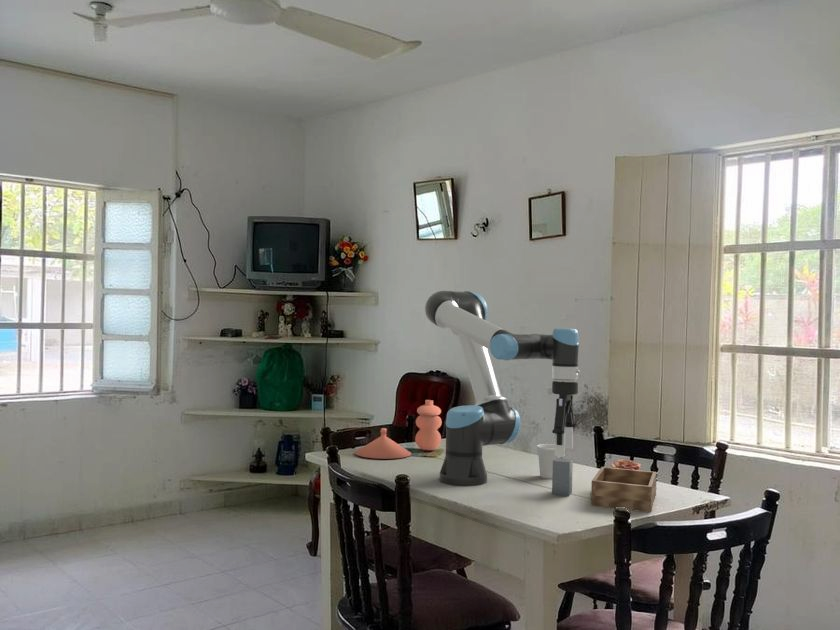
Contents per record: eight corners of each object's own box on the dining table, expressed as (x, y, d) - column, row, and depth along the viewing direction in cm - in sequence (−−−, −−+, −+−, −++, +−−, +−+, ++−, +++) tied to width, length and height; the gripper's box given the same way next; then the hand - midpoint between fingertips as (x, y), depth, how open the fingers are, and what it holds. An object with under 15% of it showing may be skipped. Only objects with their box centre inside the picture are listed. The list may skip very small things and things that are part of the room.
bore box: (591, 505, 208) (591, 480, 207) (601, 489, 227) (601, 466, 227) (651, 512, 202) (651, 487, 202) (656, 495, 221) (656, 472, 221)
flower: (644, 483, 236) (644, 458, 236) (636, 489, 228) (637, 463, 228) (613, 479, 241) (614, 455, 241) (605, 485, 233) (605, 459, 233)
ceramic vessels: (370, 460, 263) (371, 407, 263) (345, 450, 281) (346, 400, 281) (453, 453, 280) (455, 403, 280) (425, 443, 299) (426, 396, 298)
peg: (551, 494, 219) (552, 460, 219) (555, 490, 224) (556, 457, 224) (568, 496, 218) (569, 462, 218) (571, 492, 222) (572, 459, 222)
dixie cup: (541, 472, 249) (542, 442, 249) (565, 476, 245) (566, 445, 245) (532, 477, 242) (532, 446, 242) (556, 480, 238) (557, 449, 238)
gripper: (570, 384, 208) (569, 460, 208) (584, 378, 231) (583, 446, 231) (543, 383, 210) (542, 458, 210) (560, 377, 234) (559, 445, 234)
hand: (564, 452), depth 221 cm, fingers open, 13 cm apart
